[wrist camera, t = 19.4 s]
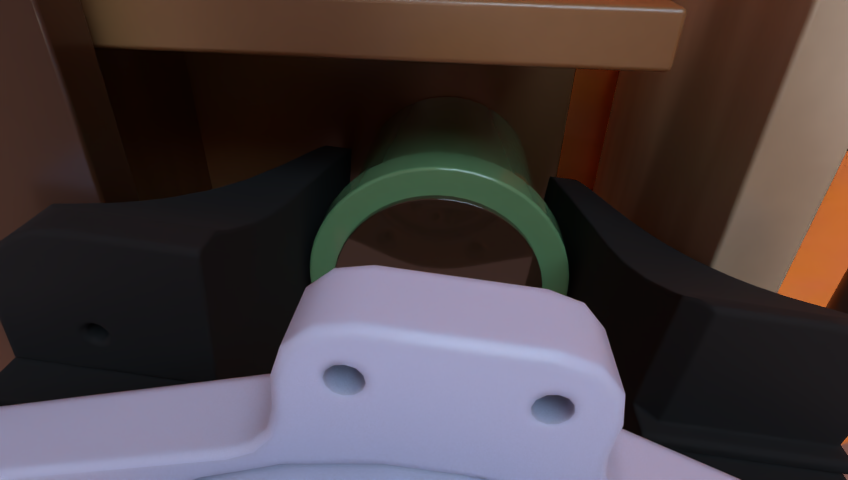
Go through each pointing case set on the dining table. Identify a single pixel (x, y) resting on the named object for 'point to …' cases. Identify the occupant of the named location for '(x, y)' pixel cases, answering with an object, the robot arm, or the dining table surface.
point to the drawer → (506, 99)
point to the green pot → (445, 202)
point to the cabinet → (53, 119)
